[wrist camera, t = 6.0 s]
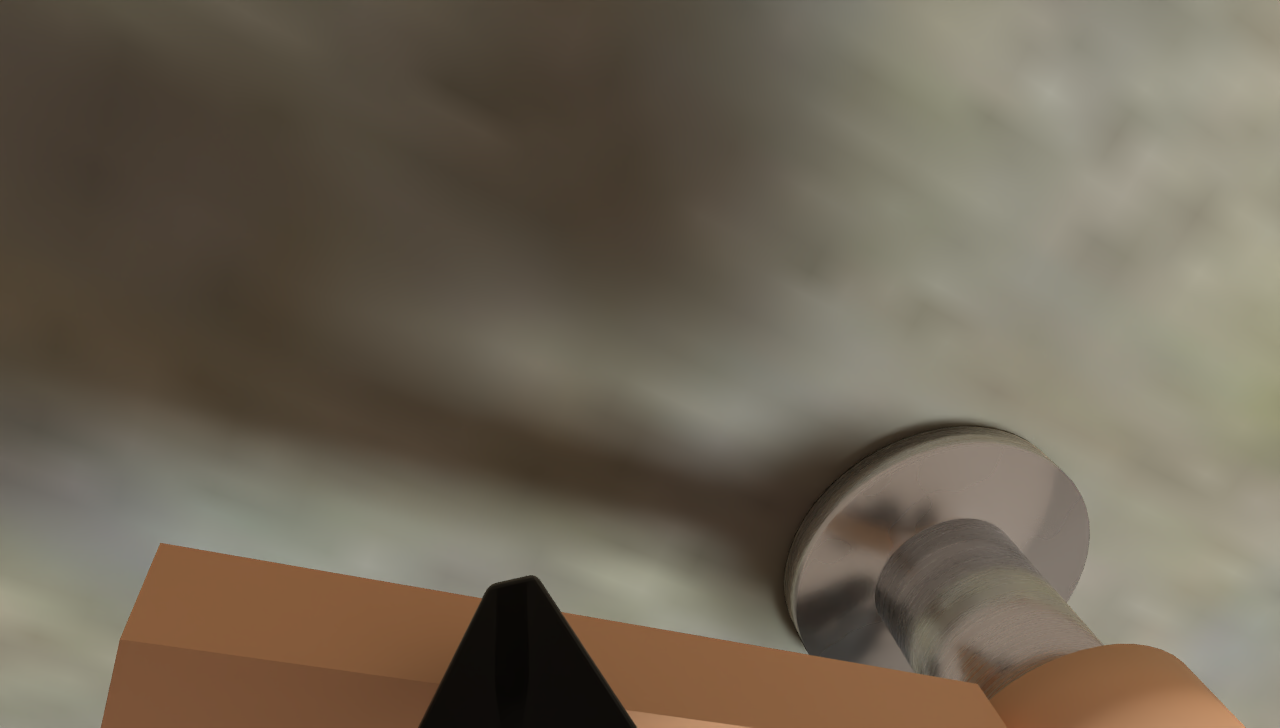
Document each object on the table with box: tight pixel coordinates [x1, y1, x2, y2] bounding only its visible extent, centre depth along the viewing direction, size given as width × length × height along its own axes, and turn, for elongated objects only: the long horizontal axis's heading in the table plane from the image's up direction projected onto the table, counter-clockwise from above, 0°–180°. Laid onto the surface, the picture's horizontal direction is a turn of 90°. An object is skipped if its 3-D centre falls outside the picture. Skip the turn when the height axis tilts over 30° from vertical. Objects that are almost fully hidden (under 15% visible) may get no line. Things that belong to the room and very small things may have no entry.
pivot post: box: [784, 426, 1104, 700], centre depth 14 cm, size 5×5×4 cm
